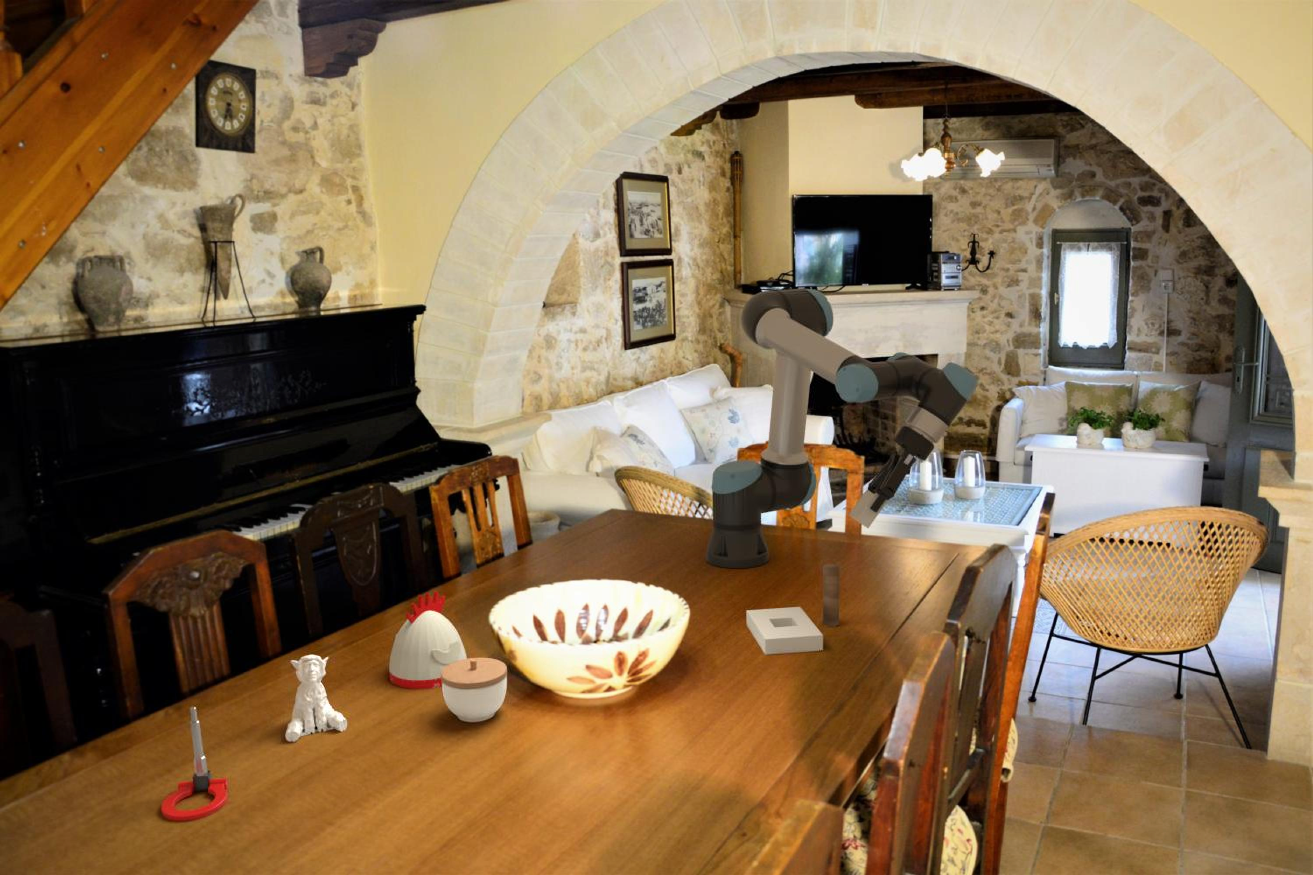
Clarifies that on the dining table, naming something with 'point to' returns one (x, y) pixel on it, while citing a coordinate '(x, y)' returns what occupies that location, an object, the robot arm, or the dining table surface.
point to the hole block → (784, 630)
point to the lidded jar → (474, 687)
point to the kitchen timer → (424, 646)
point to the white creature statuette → (312, 701)
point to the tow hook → (196, 783)
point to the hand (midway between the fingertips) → (857, 521)
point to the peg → (831, 595)
